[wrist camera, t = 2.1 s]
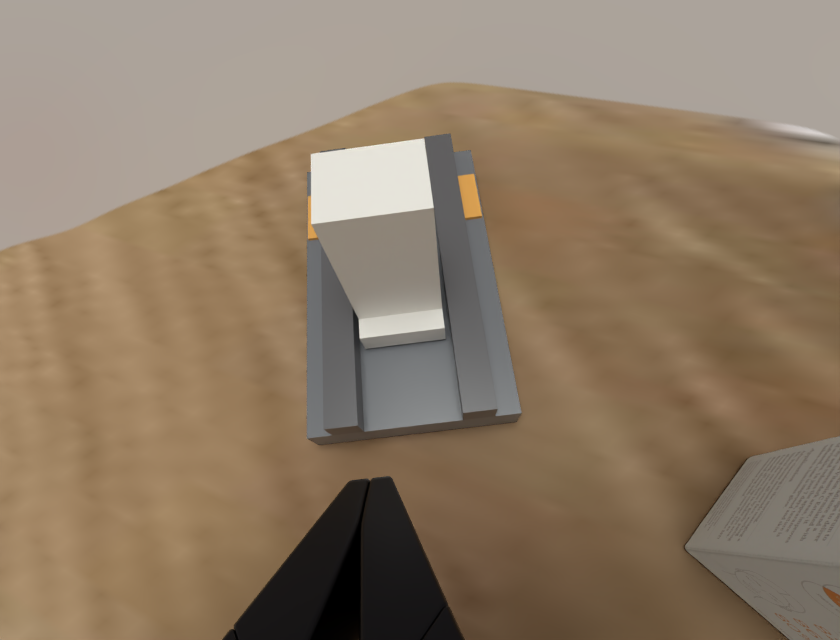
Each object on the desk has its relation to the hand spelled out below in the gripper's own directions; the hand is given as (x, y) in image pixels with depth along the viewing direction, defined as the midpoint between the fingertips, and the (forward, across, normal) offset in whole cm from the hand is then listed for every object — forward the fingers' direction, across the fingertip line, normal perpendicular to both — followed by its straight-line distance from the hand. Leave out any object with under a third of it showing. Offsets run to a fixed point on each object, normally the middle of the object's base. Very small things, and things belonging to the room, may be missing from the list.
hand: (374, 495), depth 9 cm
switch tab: (+15, 0, +1) cm, 15 cm away
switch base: (+18, 0, +1) cm, 18 cm away
